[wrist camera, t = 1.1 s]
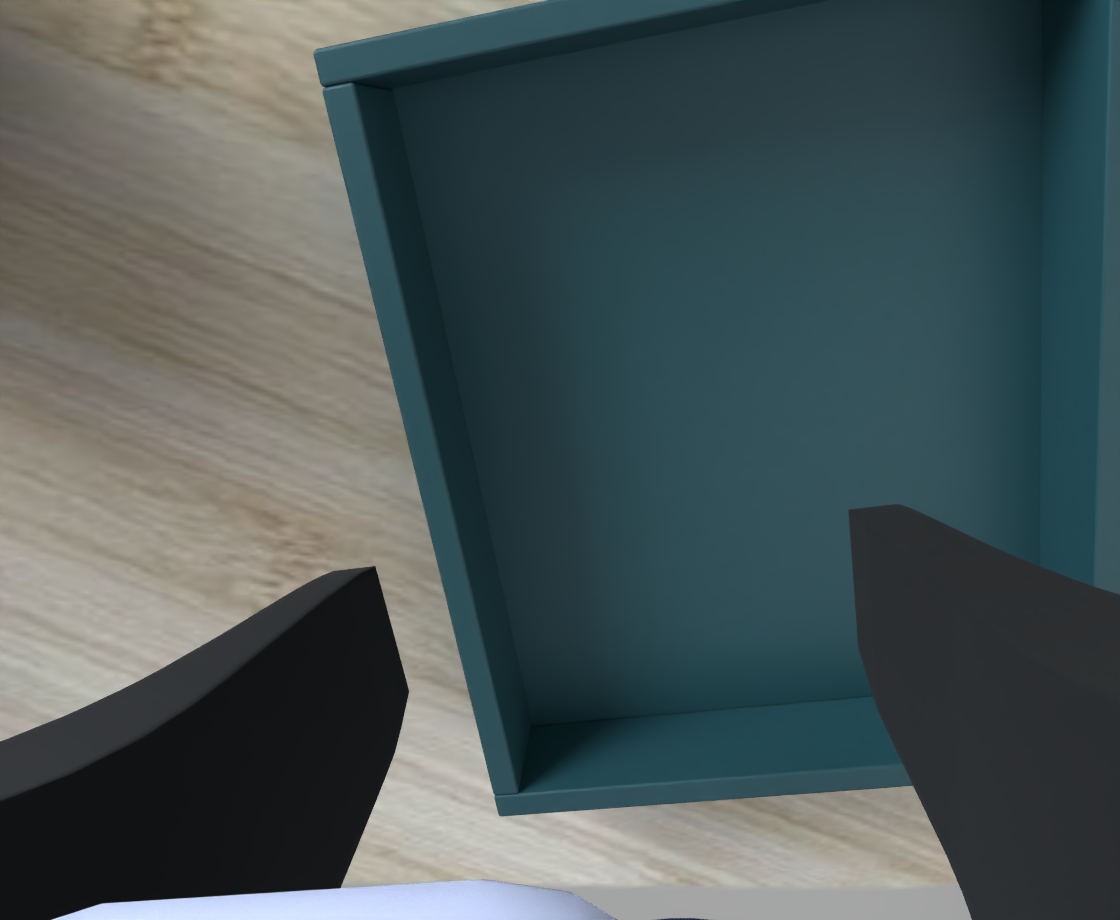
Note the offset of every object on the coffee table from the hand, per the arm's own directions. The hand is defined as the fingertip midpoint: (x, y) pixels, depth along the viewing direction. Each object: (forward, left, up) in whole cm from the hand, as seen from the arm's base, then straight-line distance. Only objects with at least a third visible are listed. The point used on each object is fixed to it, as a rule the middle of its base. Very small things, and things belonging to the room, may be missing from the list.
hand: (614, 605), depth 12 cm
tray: (0, -2, -8) cm, 9 cm away
